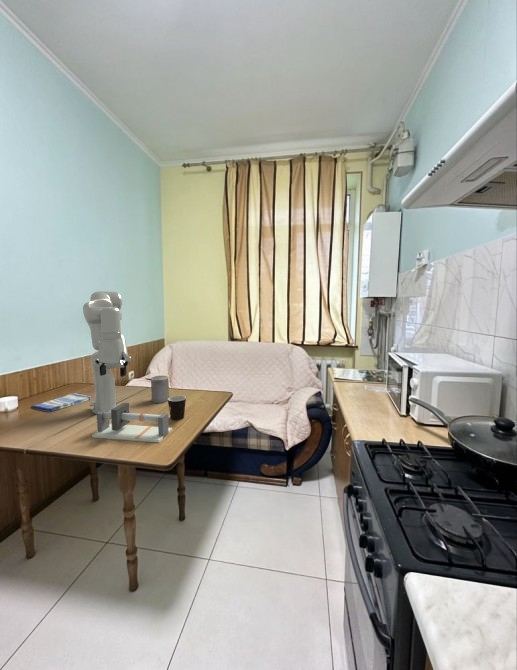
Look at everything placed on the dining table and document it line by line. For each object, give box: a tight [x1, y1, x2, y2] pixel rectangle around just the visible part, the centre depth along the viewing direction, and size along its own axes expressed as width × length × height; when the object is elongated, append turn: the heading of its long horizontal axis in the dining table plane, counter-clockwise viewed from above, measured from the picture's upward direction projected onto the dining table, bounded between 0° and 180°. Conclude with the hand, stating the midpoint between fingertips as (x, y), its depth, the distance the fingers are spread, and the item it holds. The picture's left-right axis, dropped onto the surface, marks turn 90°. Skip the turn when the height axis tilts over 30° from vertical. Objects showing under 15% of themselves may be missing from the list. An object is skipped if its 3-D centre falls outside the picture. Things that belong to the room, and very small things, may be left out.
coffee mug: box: [167, 395, 187, 422], centre depth 142 cm, size 12×9×10 cm
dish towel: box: [30, 392, 92, 413], centre depth 165 cm, size 17×24×3 cm
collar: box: [110, 402, 131, 431], centre depth 127 cm, size 2×9×9 cm, turn 172°
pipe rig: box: [91, 410, 173, 443], centre depth 126 cm, size 30×12×9 cm, turn 82°
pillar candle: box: [150, 375, 170, 404], centre depth 170 cm, size 10×10×15 cm
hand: (113, 375), depth 128 cm, fingers open, 9 cm apart
